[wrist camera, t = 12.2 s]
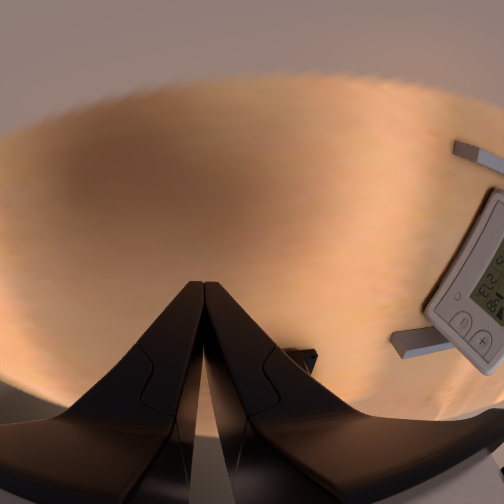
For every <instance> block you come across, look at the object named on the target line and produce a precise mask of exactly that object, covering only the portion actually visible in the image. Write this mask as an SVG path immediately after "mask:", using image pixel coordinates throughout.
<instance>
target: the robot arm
mask: <svg viewBox="0 0 504 504" xmlns="http://www.w3.org/2000/svg"><path fill="white" fill-rule="evenodd" d="M203 345H204V359H205V366H206V371H207V377H208V383H209V388H210V394H211V399H212V404H213V409H214V414H215V419H216V424H217V429H218V434H219V438H220V443H221V447H222V452H223V456H224V461H225V465H226V469H227V473H228V477H229V481H230V486H231V489H232V494H233V497H234V501H235V504H504V467H503V468H501V469H500V468H499V466H498V464H497V463H496V461H495V459H494V457H493V456H492V454H491V453H492V452H493V451H495V450H496V449H497V448H498V447H499V446H500V445H501V444H502V443H503V442H504V409H500V408H492V409H489V410H486V411H485V412H483V413H481V414H479V415H477V416H475V417H472V418H468V419H464V420H456V421H425V420H407V419H394V418H383V417H375V416H370V415H367V414H364V413H362V412H359V411H358V410H356V409H354V408H352V407H351V406H349V405H348V404H347V403H345V402H344V401H343V400H341V399H340V398H339V397H337V396H336V395H335V394H333V393H332V392H331V391H329V390H328V389H327V388H325V387H324V386H323V385H321V384H320V383H319V382H318V381H316V380H315V379H314V378H312V377H311V373H312V371H313V368H314V365H315V362H316V360H317V357H318V354H317V352H316V351H315V350H311V351H295V352H284V351H283V350H282V349H281V348H280V347H279V346H277V344H276V343H275V342H274V341H273V340H272V339H271V338H270V337H269V336H268V335H267V334H266V333H265V332H264V331H263V330H262V329H261V328H260V326H259V325H258V324H257V323H256V322H255V321H254V320H253V319H252V318H251V317H250V316H249V315H248V314H247V313H246V312H245V310H244V309H243V308H242V307H241V306H240V305H239V304H238V303H237V302H236V301H235V300H234V299H233V297H232V296H231V295H230V294H229V293H228V292H227V291H226V290H225V289H224V288H223V287H222V285H221V284H220V283H219V282H205V283H203V282H202V281H189V282H188V283H187V284H186V286H185V287H184V288H183V289H182V290H181V291H180V292H179V294H178V295H177V296H176V297H175V298H174V299H173V300H172V302H171V303H170V304H169V305H168V306H167V307H166V308H165V310H164V311H163V312H162V313H161V314H160V315H159V316H158V318H157V319H156V320H155V321H154V322H153V323H152V325H151V326H150V327H149V328H148V329H147V330H146V331H145V333H144V334H143V335H142V336H141V337H140V338H139V340H138V341H137V342H136V344H134V345H133V346H132V348H131V349H130V350H129V351H128V352H127V353H126V355H125V356H124V357H123V358H122V359H121V360H120V361H119V362H118V363H117V364H116V365H115V366H114V367H113V368H112V369H111V370H110V371H109V372H108V373H107V374H106V375H105V376H104V377H103V378H102V379H101V380H99V381H98V382H97V383H96V384H95V385H94V386H93V387H92V388H91V389H89V390H88V391H87V392H86V393H85V394H84V395H83V396H82V397H81V398H80V399H78V400H77V401H76V402H75V403H74V404H73V405H72V406H71V407H69V408H68V409H67V410H65V411H64V412H62V413H61V414H59V415H57V416H55V417H52V418H48V419H43V420H37V421H30V422H22V423H15V424H5V425H0V504H189V496H190V481H191V471H192V459H193V458H192V457H193V448H194V437H195V427H196V417H197V407H198V398H199V389H200V380H201V372H202V363H203Z"/></svg>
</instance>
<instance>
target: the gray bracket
mask: <svg viewBox="0 0 504 504" xmlns="http://www.w3.org/2000/svg"><path fill="white" fill-rule="evenodd" d="M453 154H455V155H458V156H461V157H463V158H466V159H468V160H471V161H473V162H476V163H478V164H480V165H483V166H485V167H487V168H490V169H492V170H494V171H496V172H499V173H501V174H503V175H504V160H503V159H501V158H499V157H497V156H495V155H493V154H491V153H489V152H487V151H485V150H483V149H481V148H478V147H475V146H472V145H469V144H465V143H462V142H458V141H455V147H454V152H453ZM390 342H391V343H392V345H393V346H394V348H395V349H396V351H397V352H398V354H399V355H400V357H401V358H402V359H406V358H411V357H416V356H421V355H425V354H430V353H434V352H438V351H442V350H447V349H451V348H454V347H455V346H454V345H453V344H452V343H451V342H450V341H449V340H448V339H447V338H446V337H445V336H444V335H443V334H441V333H440V332H439V331H438V330H437V329H436V328H435V327H428V328H422V329H415V330H408V331H400V332H393V335H392V337H391V339H390Z"/></svg>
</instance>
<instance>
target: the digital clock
mask: <svg viewBox="0 0 504 504" xmlns="http://www.w3.org/2000/svg"><path fill="white" fill-rule="evenodd" d="M439 286H440V287H439V288H438V290H437V291H436V293H435V294H434V296H433V297H432V299H431V300H430V302H429V303H428V305H427V306H426V308H425V312H424V314H425V317H426V319H427V320H428V321H429V322H430V323H431V324H432V325H433V326H434V327H435V328H436V329H437V330H438V331H439V332H440V333H441V334H443V335H444V336H445V337H446V338H447V339H448V340H449V341H450V342H451V343H452V344H453V345H454V346H455V347H456V348H457V349H458V350H459V351H460V352H461V353H462V354H463V355H464V356H465V357H466V358H467V359H468V360H469V361H470V362H471V363H472V364H473V365H474V366H475V367H476V368H477V369H478V370H479V371H480V372H481V373H482V374H483V375H485V376H489V375H491V374H492V373H494V372H495V371H496V369H497V368H498V367H499V366H500V365H501V363H502V362H503V361H504V191H503V190H501V189H495V190H494V191H493V192H492V193H491V195H490V197H489V199H488V201H487V203H486V205H485V208H484V210H483V212H482V214H481V215H480V214H479V216H478V218H477V220H476V222H475V224H474V226H473V228H472V229H471V231H470V233H469V235H468V237H467V239H466V240H465V242H464V244H463V246H462V248H461V249H460V251H459V253H458V255H457V256H456V258H455V260H454V261H453V263H452V265H451V266H450V268H449V269H448V271H447V273H446V274H445V276H444V277H443V279H442V281H441V282H440V284H439Z"/></svg>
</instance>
